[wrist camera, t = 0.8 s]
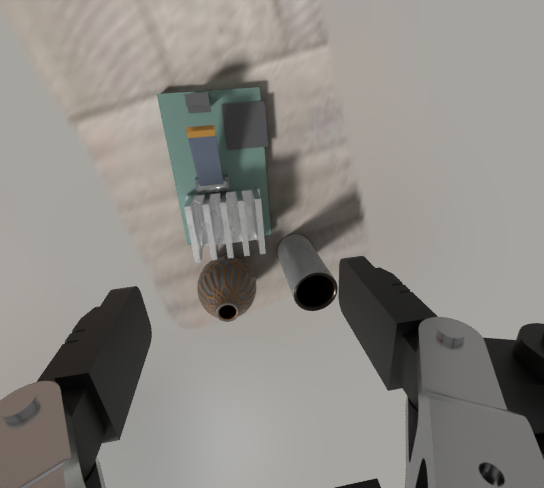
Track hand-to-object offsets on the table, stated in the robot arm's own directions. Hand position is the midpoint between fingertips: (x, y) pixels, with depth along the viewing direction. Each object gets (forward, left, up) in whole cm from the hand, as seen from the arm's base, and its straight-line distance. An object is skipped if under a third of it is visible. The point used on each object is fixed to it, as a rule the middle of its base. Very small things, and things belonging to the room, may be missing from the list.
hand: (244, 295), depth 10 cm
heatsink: (+4, -1, -24) cm, 25 cm away
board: (0, -1, -26) cm, 26 cm away
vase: (+13, -2, -26) cm, 29 cm away
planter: (+11, +7, -26) cm, 29 cm away
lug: (-7, -2, -24) cm, 25 cm away
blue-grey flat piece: (-2, -2, -22) cm, 22 cm away
